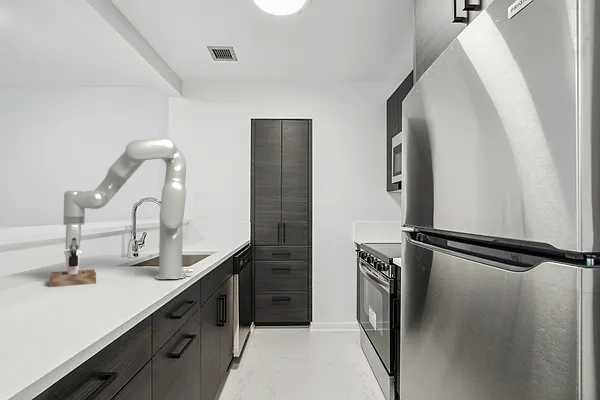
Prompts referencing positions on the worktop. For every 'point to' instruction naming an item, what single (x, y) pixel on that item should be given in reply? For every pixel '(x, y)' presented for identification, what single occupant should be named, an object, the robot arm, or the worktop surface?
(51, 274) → the cutout board
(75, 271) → the smoothie
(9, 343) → the worktop surface
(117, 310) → the worktop surface
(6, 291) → the worktop surface
